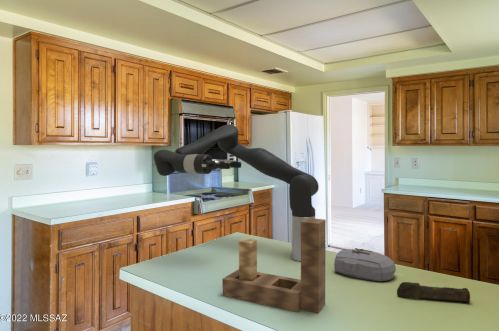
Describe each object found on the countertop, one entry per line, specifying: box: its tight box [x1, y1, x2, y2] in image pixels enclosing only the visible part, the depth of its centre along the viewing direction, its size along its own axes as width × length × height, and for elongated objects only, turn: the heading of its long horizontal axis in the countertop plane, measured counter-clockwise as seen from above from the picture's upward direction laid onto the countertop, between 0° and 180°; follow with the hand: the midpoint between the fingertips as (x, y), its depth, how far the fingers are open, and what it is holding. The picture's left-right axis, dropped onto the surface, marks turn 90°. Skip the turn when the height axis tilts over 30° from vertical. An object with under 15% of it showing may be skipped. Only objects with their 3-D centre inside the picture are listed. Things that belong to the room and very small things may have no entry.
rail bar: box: [238, 238, 258, 282], centre depth 108 cm, size 4×4×15 cm
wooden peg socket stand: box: [222, 218, 327, 314], centre depth 104 cm, size 29×10×24 cm, turn 61°
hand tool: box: [396, 281, 471, 305], centre depth 104 cm, size 19×4×5 cm, turn 75°
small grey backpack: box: [333, 247, 397, 282], centre depth 124 cm, size 15×8×20 cm
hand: (235, 165), depth 131 cm, fingers open, 8 cm apart
